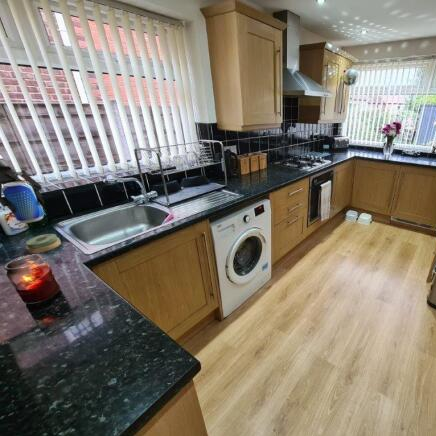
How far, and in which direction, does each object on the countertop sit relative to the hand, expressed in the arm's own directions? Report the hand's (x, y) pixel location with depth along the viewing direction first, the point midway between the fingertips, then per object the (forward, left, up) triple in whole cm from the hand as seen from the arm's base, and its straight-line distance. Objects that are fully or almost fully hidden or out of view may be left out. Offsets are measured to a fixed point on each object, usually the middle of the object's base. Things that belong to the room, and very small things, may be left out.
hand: (29, 207), depth 100 cm
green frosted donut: (-2, +1, -19) cm, 20 cm away
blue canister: (-3, +2, -6) cm, 7 cm away
